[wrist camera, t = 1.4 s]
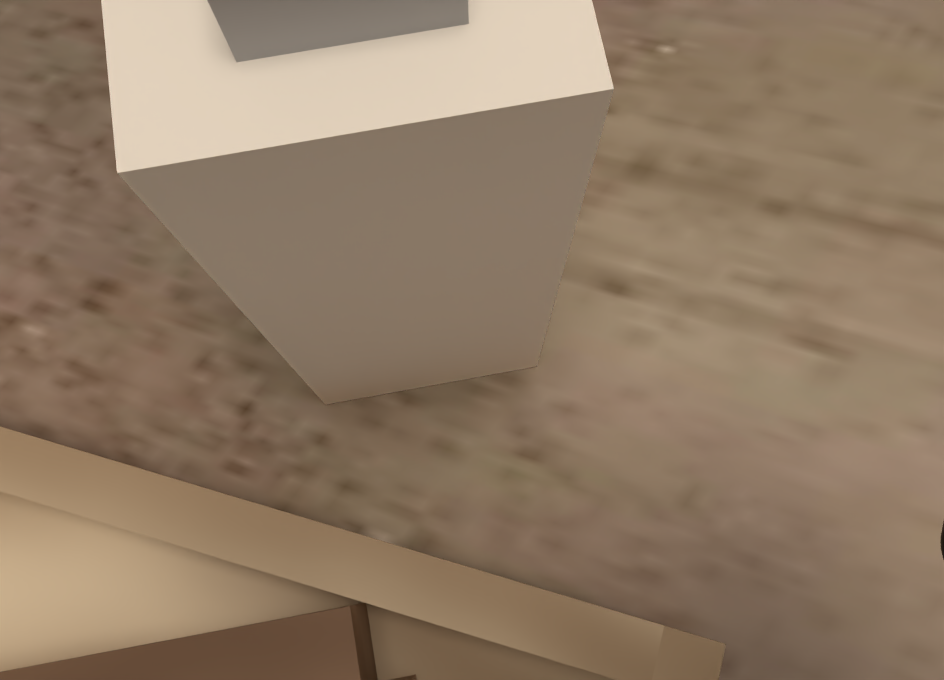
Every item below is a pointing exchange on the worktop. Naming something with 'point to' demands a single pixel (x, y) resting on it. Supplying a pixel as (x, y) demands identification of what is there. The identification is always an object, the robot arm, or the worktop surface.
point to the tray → (271, 593)
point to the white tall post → (367, 170)
